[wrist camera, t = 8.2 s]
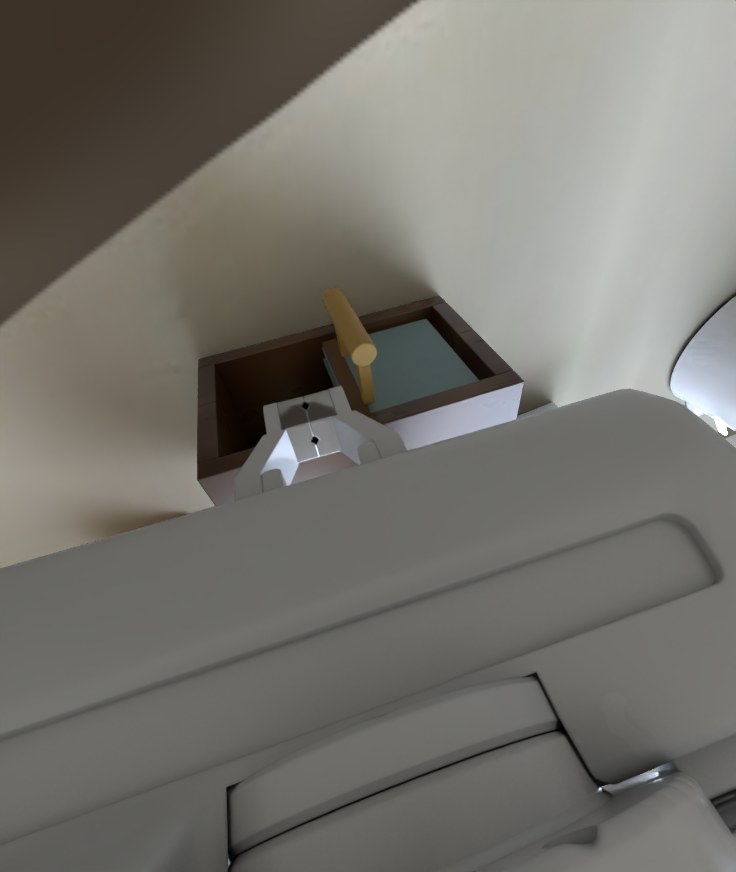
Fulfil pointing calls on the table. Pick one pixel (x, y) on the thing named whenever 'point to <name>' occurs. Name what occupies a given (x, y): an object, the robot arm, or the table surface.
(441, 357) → the handled teal slab
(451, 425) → the cabinet
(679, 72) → the table surface
